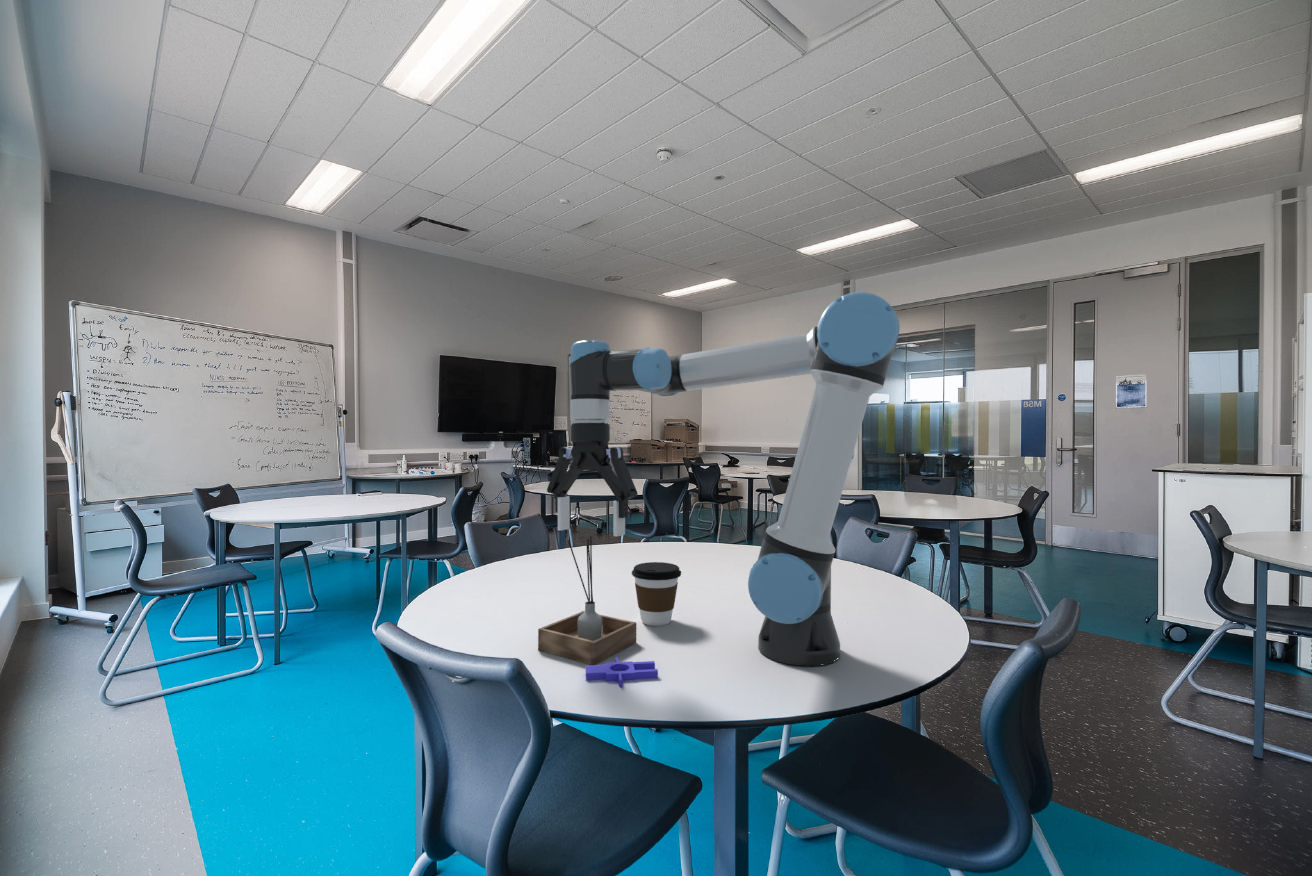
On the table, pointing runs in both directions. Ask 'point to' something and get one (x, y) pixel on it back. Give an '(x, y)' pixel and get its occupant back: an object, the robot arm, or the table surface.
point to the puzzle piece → (622, 671)
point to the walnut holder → (567, 643)
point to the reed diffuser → (589, 606)
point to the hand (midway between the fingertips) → (590, 532)
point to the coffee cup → (656, 591)
